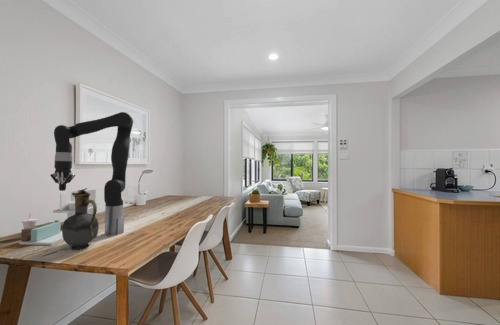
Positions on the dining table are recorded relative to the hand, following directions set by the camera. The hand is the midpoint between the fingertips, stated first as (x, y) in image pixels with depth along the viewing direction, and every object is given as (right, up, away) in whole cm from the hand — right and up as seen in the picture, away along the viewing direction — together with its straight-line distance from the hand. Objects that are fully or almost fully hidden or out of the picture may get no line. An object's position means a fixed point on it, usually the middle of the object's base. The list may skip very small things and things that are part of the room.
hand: (62, 190), depth 121 cm
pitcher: (+23, -27, -15) cm, 39 cm away
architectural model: (-13, -28, +28) cm, 41 cm away
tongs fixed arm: (-10, -25, -4) cm, 27 cm away
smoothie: (-19, -27, 0) cm, 33 cm away
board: (-3, -27, -2) cm, 27 cm away
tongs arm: (-7, -26, -2) cm, 27 cm away
